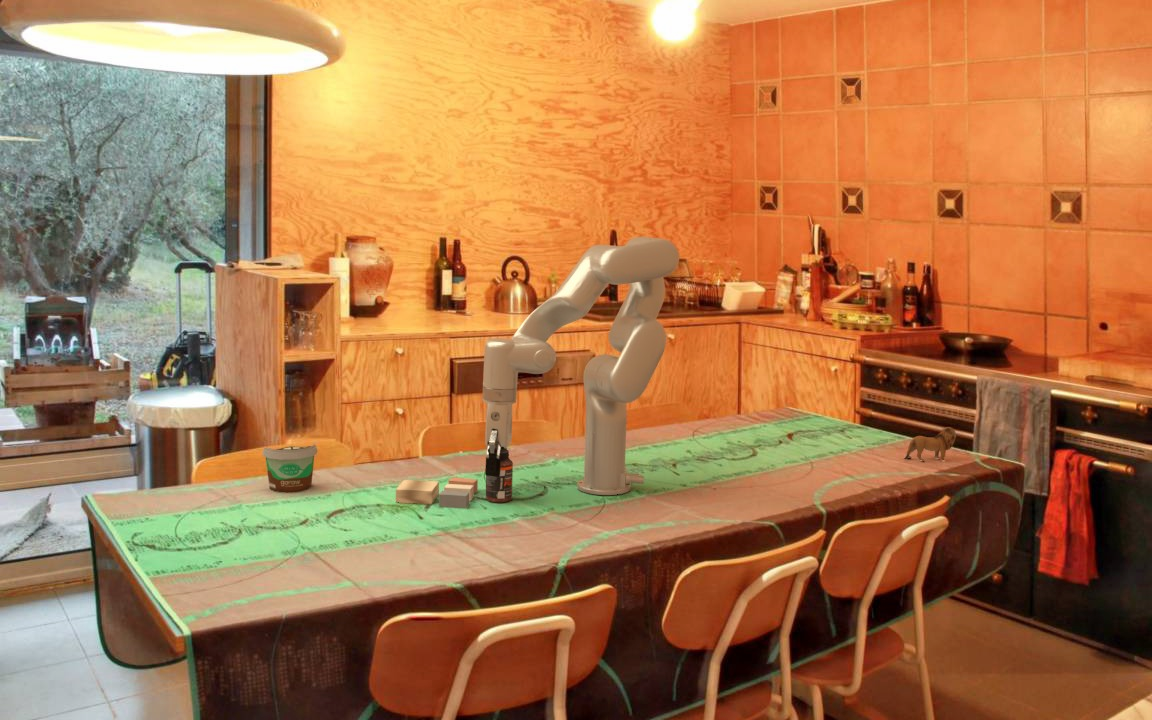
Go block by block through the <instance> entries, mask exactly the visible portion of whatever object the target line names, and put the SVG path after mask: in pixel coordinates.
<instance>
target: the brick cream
mask: <svg viewBox="0 0 1152 720" xmlns="http://www.w3.org/2000/svg"><path fill="white" fill-rule="evenodd" d="M443 491H458V492H469V502H471V501H472V500H473V499H474V495H473V485H458V484H449V483H447V484H446V485H445V486H444V488H443Z"/></svg>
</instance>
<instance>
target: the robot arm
mask: <svg viewBox="0 0 1152 720" xmlns="http://www.w3.org/2000/svg"><path fill="white" fill-rule="evenodd" d="M679 262H680V253H679V250H678V248H677V246H676V245H675V244H674V243H673V242H672V241H671V240H669V239H666V238H657V237H650V236H649V237H647V236H637V237H632V238H630V239H629V240H628V241H627V242H626V244H625V245H618V246H617V245H609V244H595V245H592V246H590V247H589V248H588V249H586V251H585V252H584V253H583V255H582V256H581V258H580V259H579V260H578V262H577V263H576V264H575V266H574V267H573V268H572V270H570V273H569V274H568V275H567V277H566V278H565V280H564V281H563V282H562V283H561V284H560V286H559V287H558V289H557V290H556V291H555V293H553V294H552V295H551V296H550V297H548V298H547V299H546V300H545V301H544V302H543V303H541V304H540V305H539V306H538V307H536V308H535V309H534V310H533V311H532V312H531V313H530V314H529V315H528V316H527V317H526V318H525V319H524V321H523V322H522V323H521V324H520V325H519V327H518V329H517V330H516V331H515V333H513V335H512V336H511V339H509V338H502V337H501V338H497V337H496V338H490V339H488V340H487V341H486V342H485V344H484V355H483V376H482V377H483V379H482V397H481V401H482V402H484V403H486V415H485V431H484V432H485V433H484V434H485V437H484V438H485V439H484V440H485V441H484V442H485V447H487V450H486V457H485V473H484V474H485V477H486V476H497V477H498V476H500V467H501V458H500V451H501V449H506V450H508V447H509V446H510V445H511V443H512V440H513V404H516V403H517V396H518V395H517V394H518V375H519V372H520V373H527V374H533V375H540V374H541V375H542V374H544V373H547V372H549V371H551V370H552V369H553V367H554V366H555V364H556V361H557V353H556V350H555V349H554V347H553V346H552V344H550V343H549V342H547V341H548V340H549V339H550V337H551V336H552V335H553V334H554V333H556V332H557V331H559V329H561V328H562V327H564V326H567V325H569V324H571V323H575V322H576V321H579V320H581V319H582V318H584V317H585V316H586V315H587V314H588V313H589V311H590V310H591V309H592V307H593V306H594V304H595V303H596V302H597V300H598V299H599V297H600V296H601V295H602V294H603V292H604V291H605V289H606V288H607V287H608V286H609V284H610V285H617V286H619V285H627V284H629V288H628V292H627V294H626V295H625V297H624V301H623V303H622V304H621V306H620V308H619V311H618V312H617V315H616V316H615V318H614V320H613V323H612V324H611V326H610V327H609V332H608V341H609V344H610V346H611V347H612V348H613V349H614V350H615V351H617V352H619V356H616V355H612V354H603V353H602V354H599V355H596V356H594V357H592V358H591V359H590V360H589V361H588V363H587V364H586V365H585V368H584V371H583V390H584V397H585V431H584V432H585V434H584V435H585V436H584V465H583V467H584V469H583V478H582V479H580V480H578V481H577V484H576V487H577V489H578V490H580V492H583V493H586V494H591V495H595V496H596V495H599V496H616V495H617V494H618V495H622V494H626V493H629V492H630V491H631V489H632V487H631V486H632V484H637V485H639V484H640V485H644V482H645V481H644V480H645V479H644V478H645V475H640V474H639V473H630V472H629V471H628V472H627V467H626V450H627V449H626V447H627V423H628V420H627V419H628V415H627V413H628V412H627V404H629V403H633V402H635V401H637V400H638V399H639V398H640V397H641V396H642V395H643V393H644V392H645V390H646V389H647V387H648V385H649V383H650V381H651V379H652V377H653V375H654V373H655V371H656V369H657V367H658V366H659V365H658V364H659V363H660V362H661V358H662V356H663V355H664V352H665V350H666V346H667V345H666V343H667V335H666V333H667V332H666V330H665V328H664V326H663V325H662V324H661V322H660V321H659V320H657V318H658V316H659V313H660V311H661V309H662V306H663V303H664V301H665V296H666V285H665V278H664V277H667V276H669V275H670V274H672V273H673V272H674V271H675V270H676V269H677V267H678V264H679ZM497 449H498V450H497Z"/></svg>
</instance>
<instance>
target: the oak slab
mask: <svg viewBox="0 0 1152 720" xmlns="http://www.w3.org/2000/svg"><path fill="white" fill-rule="evenodd" d="M439 491H440V481H439V480H438V481H437V480H436V481H433V480H417V479H416V480H413V479H412V480H411V479H403V480H402V481H401V483H399V485H398V486H397V487H396V489H395V503H396V502H397V503H398V502H399V504H413V503H417V504H419V505H433V503H434V501H436V499H437V498H438V497H439V494H440V492H439ZM417 504H416V505H417Z"/></svg>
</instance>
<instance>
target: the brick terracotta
mask: <svg viewBox="0 0 1152 720" xmlns="http://www.w3.org/2000/svg"><path fill="white" fill-rule="evenodd" d="M478 481H479V480H478V479H476V478H467V477H451V478H450V479H448V484H458V485H473V496H474V495H475V494H476V493H477V492H478V490H479V489H478V488H479V487H478V483H479V482H478Z"/></svg>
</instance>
